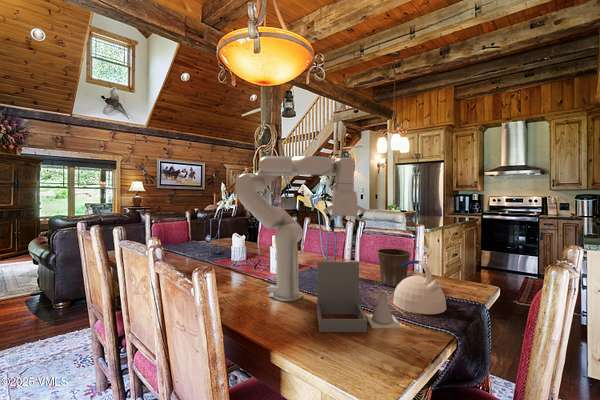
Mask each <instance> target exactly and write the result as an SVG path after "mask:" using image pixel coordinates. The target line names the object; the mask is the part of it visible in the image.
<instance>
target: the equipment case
mask: <svg viewBox="0 0 600 400" xmlns="http://www.w3.org/2000/svg"><path fill="white" fill-rule="evenodd" d="M316 264H317V265H316V267H317V268H316V273H317V274H316V279H317V280H316V284H317V285H316V287H317V288H316V291H317V292H316V297H317V298H316V299H317V300H316V302H317V304H316V305H317V306H316V308H317V309H316V312H317V313H316V314H317V315H316V316H317V322H318V323H317V324H318V331H319V333H368V320H367V318H366V314H365V313H364V311H363V309H362V306H361V305H360V262H359V261H317V262H316ZM322 315H356V316H357V317H358V318H322Z"/></svg>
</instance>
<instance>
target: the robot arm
mask: <svg viewBox="0 0 600 400" xmlns="http://www.w3.org/2000/svg"><path fill="white" fill-rule="evenodd" d="M257 165H258V170H257V172H255V173H251V172H244V173H242V174H240V175H239V176H238V177H237V178H236V180H235V184H234V192H235V195H236V198H237V200H238V201H239V202H240V203H241V205H242V206H243V207H244V208H246V210H247V211H248V212H250V214H251V215H252V216H253V217H254V218H255V219H256V220H257V221H258V222H259V223H260V224H261V225H262V226H263V228H266V229H269V230H271V229H275V231H276V232H275V234H274V243H275V252H276V255H275V256H276V257H275V258H276V284H275V286H267V287H266V291H265V292H268V293H271V294H272V298H273V299H274V300H276V301H279V302H293V301H294V302H295V301H298V300H300V299H302V297H303V293H302V292H301V291H299V249H298V248H299V247H298V243H299V242H300V241H301V240H302V238H303V235H304V231H303V228H302V226H301V225H300V224H299V222H298V221H296V220H295V219H294V218H293V217H292V216H291V215H290V214H289V213H288V212H287V211H286V210H285V209H283V208H282V207H280V206H272V205H271V204H269V202H267V200H266V199H265V198H264V197H262V196H261V195H260V194H259V192H262V191H263V190H265V188H267V187H268V186H270V184H271V183H272V182H273V181H275V180H276V179H277V177H279V176H280V177H285V176H286V177H297V176H302V175H303V176H305V175H306V176H308V175H309V176H311V175H312V176H324V177H333V176H335V184H333V185H331V189H333V190H335V191H333V195H332V204H331V205H329V206H327V207H326V208H324V209H323V212H324V214H325V216H326V217H327V218H328V219H329V220H330V221H329V224H330V225H329V228H331V230H332V231H334V230H335V220H334V218H336V217H337V216H338V217H339V216H341V217H342V216H343V217H344V216H347V217H351V216H353V217H354V218H355V219H354V230H355V231H356V230H358V229H359V228H360V220H361V219H362V218H363V216H364V215H365V213H366V211H367V209H365V208H363V207H361V206H360V205H359V204H358V195H357V191H355V161H354V158H351V157H338V158H337V159H335V158H334V159H332V158H330V157H328V156H322V155H321V156H319V155H317V156H315V155H309V156H308V155H305V156H304V155H301V156H299V155H295V156H294V155H289V156H288V155H287V156H286V155H266V156H263V157H261V158H260V160H259V161H258V164H257ZM330 210H331V211H332V212H331V213H332V214H331V215H330V214H329V211H330ZM358 210H360V211H361V212H360V213H359V212H358ZM358 213H359V214H358Z"/></svg>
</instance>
